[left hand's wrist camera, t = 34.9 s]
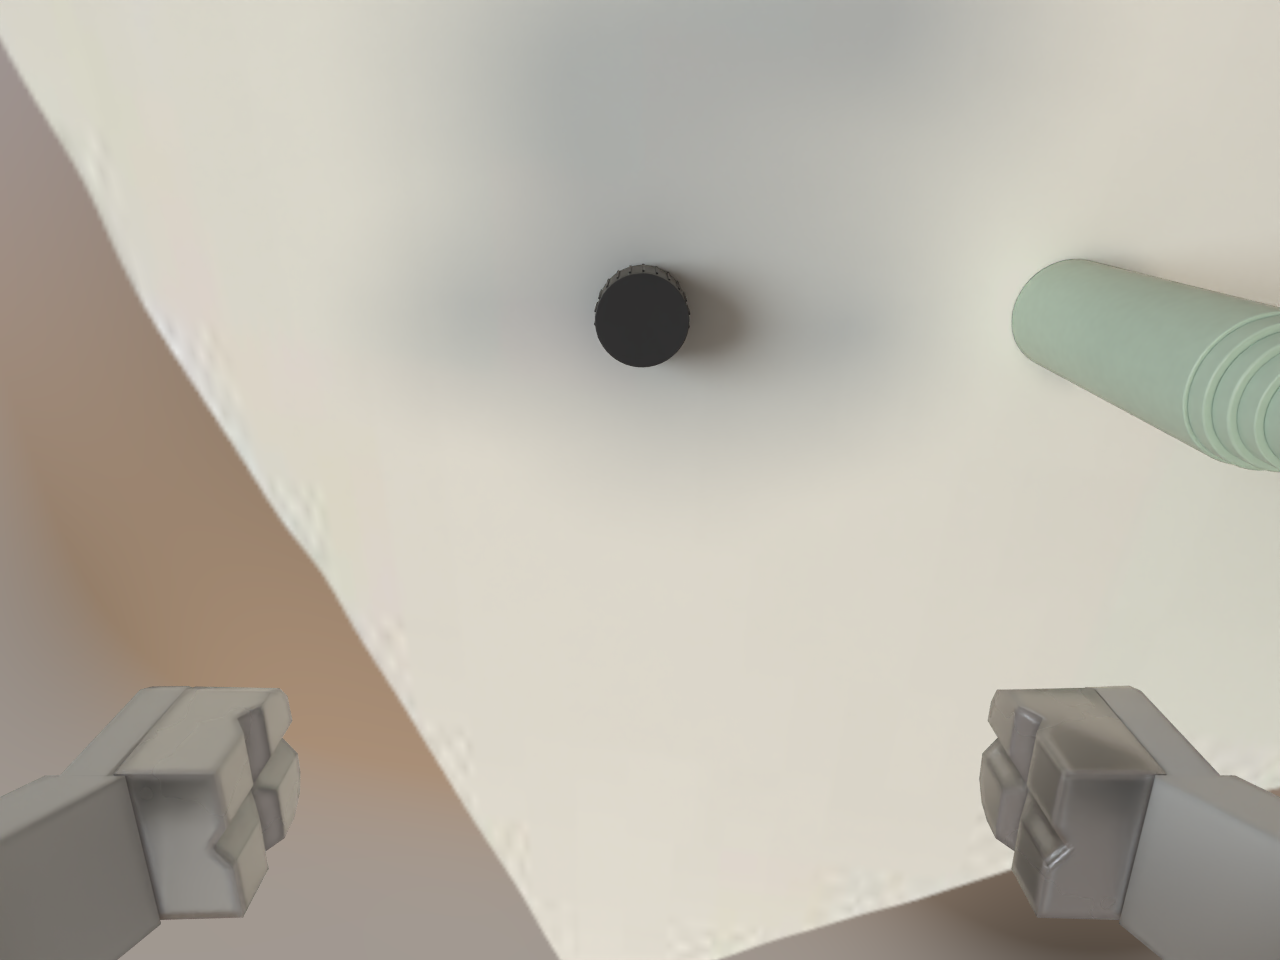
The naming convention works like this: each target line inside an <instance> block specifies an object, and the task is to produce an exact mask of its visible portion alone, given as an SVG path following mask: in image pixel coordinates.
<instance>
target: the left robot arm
mask: <svg viewBox="0 0 1280 960" xmlns="http://www.w3.org/2000/svg"><path fill="white" fill-rule="evenodd" d="M291 722H292V717H291V712H290V707H289V702H288V697H287V695H286V694H285V693H284V692H283V691H282V690H281V689H279V688H237V687H193V688H192V687H189V686H164V687H149V688H145V689H141V690H140V691H139V692H138V693H137V694H136V695H135V696H134V697H133V698H132V699H131V700H130V701H129V702H128V703H127V704H126V706H125V707H124V708H123V709H122V710H121V711H120V712H119V713H118V714H117V715H116V716H115V717H114V718H113V719H112V720H111V721H110V722H109V724H108V725H107V726H106V727H105V728H104V729H103V730H102V731H101V732H100V733H99V734H98V735H97V736H96V737H95V738H94V740H93V741H92V742H91V743H90V744H89V745H88V746H87V747H86V748H85V749H84V750H83V751H82V752H81V753H80V754H79V755H78V757H77V758H76V759H75V760H74V761H73V762H72V763H71V764H70V765H69V766H68V767H67V768H66V769H65V770H64V771H63V772H62V774H61V775H60V776H43V777H41V778H39V779H37V780H35V781H33V782H31V783H29V784H26V785H24V786H22V787H20V788H18V789H16V790H14V791H12V792H10V793H8V794H6V795H3V796H1V797H0V960H118V959H119V958H120V957H121V956H122V955H124V954H125V953H126V952H127V951H129V950H130V949H131V948H132V947H133V946H135V945H136V944H137V943H138V942H140V941H141V940H142V939H143V938H144V937H146V936H147V935H148V934H149V933H150V932H152V931H153V930H154V929H155V928H157V927H158V926H159V925H160V924H161V922H160V920H171V919H205V918H240V917H243V916H244V914H245V912H246V911H247V909H248V907H249V905H250V903H251V901H252V899H253V897H254V895H255V893H256V891H257V890H258V888H259V886H260V884H261V882H262V880H263V878H264V876H265V874H266V872H267V871H268V863H267V857H266V850H268V849H269V848H271V847H272V846H274V845H275V844H276V843H278V842H279V841H281V840H282V839H284V838H285V836H286V834H287V832H288V830H289V828H290V826H291V824H292V821H293V819H294V816H295V812H296V807H297V803H298V799H299V794H300V767H299V760H298V754H297V752H296V751H295V750H294V749H293V748H292V747H291V746H290V745H289V744H288V743H287V742H286V741H285V740H284V739H283V738H282V737H283V735H284V734H285V732H286V730H287V729H288V727H289V725H290V724H291ZM988 722H989V724H990V725H991V727H992V729H993V730H994V732H995V734H996V735H997V737H998V738H997V739H996V740H995V741H994V742H993V743H992V744H991V745H990V746H989V747H988V748H987V749H986V750H985V751H984V752H983V753H982V761H981V769H980V778H979V779H980V790H981V800H982V805H983V809H984V812H985V815H986V819H987V822H988V824H989V826H990V828H991V830H992V832H993V834H994V836H995V838H996V839H998V840H999V841H1001V842H1002V843H1003V844H1005V845H1006V846H1008V847H1009V848H1011V849H1012V850H1014V851H1015V852H1014V857H1013V863H1012V871H1013V873H1014V874H1015V876H1016V878H1017V880H1018V882H1019V884H1020V886H1021V888H1022V890H1023V891H1024V893H1025V895H1026V897H1027V899H1028V901H1029V903H1030V905H1031V907H1032V909H1033V910H1034V912H1035V914H1036V916H1037V917H1038V918H1073V919H1109V920H1120V921H1119V924H1120V925H1121V926H1123V927H1124V928H1125V929H1126V930H1127V931H1129V932H1130V933H1131V934H1132V935H1133V936H1135V937H1136V938H1137V939H1138V940H1140V941H1141V942H1142V943H1143V944H1145V945H1146V946H1147V947H1148V948H1149V949H1151V950H1152V951H1153V952H1154V953H1155V954H1157V955H1158V956H1159V957H1160V958H1161V959H1163V960H1280V797H1278V796H1276V795H1274V794H1272V793H1270V792H1268V791H1266V790H1264V789H1262V788H1260V787H1258V786H1256V785H1254V784H1251V783H1249V782H1247V781H1245V780H1243V779H1241V778H1239V777H1237V776H1220V775H1219V773H1218V772H1217V771H1216V770H1215V769H1214V768H1213V767H1212V766H1211V765H1210V764H1209V763H1208V762H1207V761H1206V760H1205V759H1204V758H1203V756H1202V755H1201V754H1200V753H1199V752H1198V751H1197V750H1196V749H1195V748H1194V747H1193V746H1192V745H1191V744H1190V743H1189V742H1188V740H1187V739H1186V738H1185V737H1184V736H1183V735H1182V734H1181V733H1180V732H1179V731H1178V730H1177V729H1176V728H1175V727H1174V726H1173V724H1172V723H1171V722H1170V721H1169V720H1168V719H1167V718H1166V717H1165V716H1164V715H1163V714H1162V713H1161V712H1160V711H1159V710H1158V709H1157V707H1156V706H1155V705H1154V704H1153V703H1152V702H1151V701H1150V700H1149V699H1148V698H1147V697H1146V696H1145V695H1144V694H1143V693H1142V691H1140V690H1138V689H1136V688H1133V687H1131V686H1109V687H1085V688H1058V689H1009V690H997V691H996V693H995V695H994V697H993V699H992V701H991V705H990V711H989V716H988Z"/></svg>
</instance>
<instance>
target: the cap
mask: <svg viewBox="0 0 1280 960" xmlns="http://www.w3.org/2000/svg"><path fill="white" fill-rule="evenodd" d="M598 299H599V302H597V304H596V307H595V312H596V314H595V323H594V325H595V326H596V332H597V335H598V338H599V340H600V342H601V344H602V346H603V347H604V348H605V350H606V351H607V352H608V353H609V354H610V355H611V356H612V357H614V358H615V359H616V360H618V361H620V362H622V363H624V364H626V365H630V366H634V367H650V366H655V365H658V364H660V363H663V362H664V361H666V360H668V359H669V358H671V357H672V356H673V355H674V354H675V353H676V352H677V351H678V350H679V349H680V347H681V346H682V344H683V343H684V341H685V338H686V336H687V333H688V328H689V315H690V311H689V308H688V305H687V304H686V301H687V299H686V296H685V293H684V292H682V290H681V288H680V286H679V282H678V281H675V280H674V278H673V277H671V276H670V275H669V272H667V273H666V272H665V271H663V270H661V269H659V268H658V267H657V266H655V267H653V266H647V265H644V264H642V265H637V266H631V265H630V266H629V267H628V268H625V269H623V270H621V271H617V273H616V274H615V275H614V276H613V277H612V278H611V279H608V280H607V283H606V285H605V286H604V288H603V290H602V289H601V291H600V294H599V298H598Z"/></svg>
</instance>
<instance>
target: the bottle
mask: <svg viewBox="0 0 1280 960" xmlns="http://www.w3.org/2000/svg"><path fill="white" fill-rule="evenodd" d="M1012 329H1013V334H1014V338H1015V341H1016V343H1017V345H1018V347H1019V348H1020V350H1021V351H1022V352H1023V354H1024V355H1025V356H1026V357H1028V358H1029V359H1030V360H1032V361H1033V362H1035V363H1037V364H1038V365H1040V366H1042V367H1044V368H1046V369H1048V370H1050V371H1051V372H1053V373H1055V374H1057V375H1059V376H1061V377H1063V378H1064V379H1066V380H1068V381H1070V382H1072V383H1074V384H1076V385H1077V386H1079V387H1081V388H1083V389H1085V390H1087V391H1089V392H1090V393H1092V394H1094V395H1096V396H1098V397H1100V398H1102V399H1103V400H1105V401H1107V402H1109V403H1111V404H1113V405H1115V406H1116V407H1118V408H1120V409H1122V410H1124V411H1126V412H1128V413H1129V414H1131V415H1133V416H1135V417H1137V418H1139V419H1141V420H1142V421H1144V422H1146V423H1148V424H1150V425H1152V426H1154V427H1155V428H1157V429H1159V430H1161V431H1163V432H1165V433H1167V434H1168V435H1170V436H1172V437H1174V438H1176V439H1178V440H1180V441H1182V442H1183V443H1185V444H1187V445H1189V446H1191V447H1193V448H1195V449H1196V450H1198V451H1200V452H1202V453H1204V454H1206V455H1208V456H1209V457H1211V458H1213V459H1216V460H1218V461H1220V462H1224V463H1228V464H1233V465H1236V466H1238V467H1241V468H1245V469H1250V470H1267V471H1273V472H1280V307H1275V306H1271V305H1267V304H1263V303H1259V302H1255V301H1251V300H1247V299H1243V298H1239V297H1235V296H1231V295H1227V294H1223V293H1218V292H1214V291H1210V290H1206V289H1202V288H1198V287H1194V286H1190V285H1186V284H1182V283H1178V282H1174V281H1170V280H1166V279H1162V278H1157V277H1153V276H1149V275H1145V274H1141V273H1137V272H1133V271H1129V270H1125V269H1121V268H1117V267H1113V266H1109V265H1105V264H1100V263H1096V262H1092V261H1088V260H1082V259H1070V260H1064V261H1060V262H1057V263H1055V264H1052V265H1050V266H1048V267H1046V268H1044V269H1043V270H1041V271H1040V272H1039V273H1037V274H1036V275H1035V276H1034V277H1033V278H1032V279H1031V280H1030V281H1029V282H1028V283H1027V284H1026V285H1025V287H1024V288H1023V290H1022V291H1021V293H1020V295H1019V296H1018V299H1017V301H1016V304H1015V307H1014V310H1013V317H1012Z"/></svg>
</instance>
